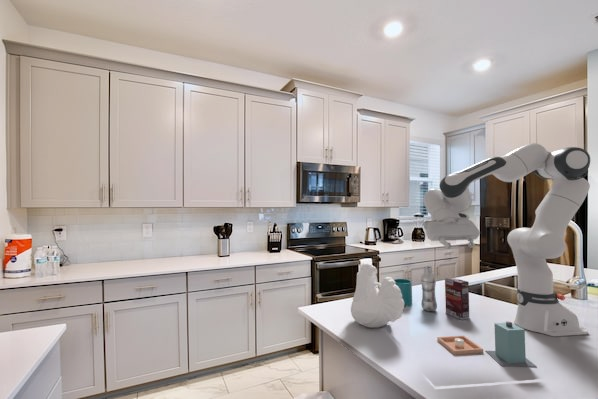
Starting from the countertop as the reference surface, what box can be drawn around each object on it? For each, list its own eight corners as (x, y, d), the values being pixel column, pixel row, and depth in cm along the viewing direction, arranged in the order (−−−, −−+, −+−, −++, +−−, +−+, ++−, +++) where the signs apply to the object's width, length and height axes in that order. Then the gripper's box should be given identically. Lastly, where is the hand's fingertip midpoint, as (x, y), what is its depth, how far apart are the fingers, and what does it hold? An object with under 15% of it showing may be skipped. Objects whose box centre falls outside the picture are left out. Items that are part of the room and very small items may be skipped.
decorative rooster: (345, 318, 129) (343, 262, 130) (376, 314, 134) (375, 259, 134) (376, 344, 105) (374, 274, 106) (413, 337, 110) (411, 270, 111)
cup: (384, 302, 149) (384, 280, 149) (404, 299, 153) (403, 278, 153) (395, 308, 141) (395, 284, 141) (416, 305, 144) (415, 282, 145)
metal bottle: (438, 313, 133) (437, 269, 133) (423, 312, 134) (421, 268, 135) (435, 308, 139) (434, 266, 140) (420, 307, 141) (419, 265, 141)
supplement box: (445, 313, 133) (444, 278, 133) (452, 311, 135) (451, 277, 135) (462, 320, 125) (461, 282, 125) (470, 318, 127) (469, 281, 127)
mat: (517, 353, 97) (517, 351, 97) (537, 369, 88) (536, 366, 88) (485, 353, 98) (485, 350, 98) (501, 368, 89) (501, 365, 89)
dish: (463, 340, 107) (463, 332, 107) (483, 354, 97) (483, 346, 97) (437, 342, 106) (437, 334, 106) (454, 356, 96) (454, 347, 96)
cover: (511, 353, 95) (510, 318, 96) (525, 362, 90) (524, 325, 90) (495, 354, 95) (494, 319, 95) (508, 363, 90) (507, 326, 90)
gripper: (423, 215, 119) (437, 243, 109) (471, 214, 121) (489, 241, 111) (418, 226, 123) (431, 253, 113) (465, 224, 125) (481, 251, 115)
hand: (460, 247), depth 112 cm, fingers open, 8 cm apart
